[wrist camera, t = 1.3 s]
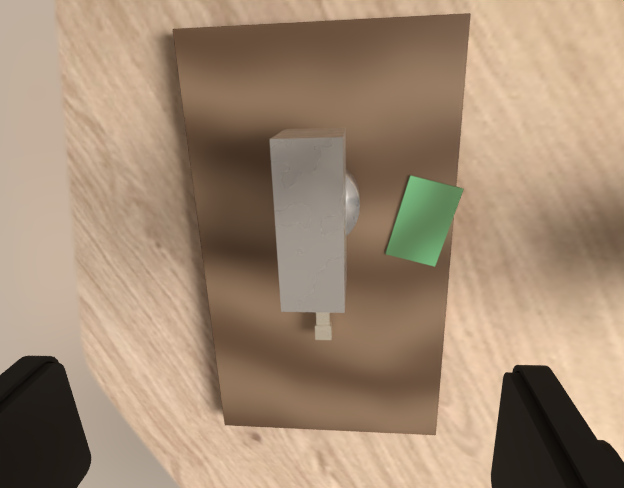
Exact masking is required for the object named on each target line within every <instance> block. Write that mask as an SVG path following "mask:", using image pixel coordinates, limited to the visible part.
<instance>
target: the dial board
mask: <svg viewBox="0 0 624 488" xmlns="http://www.w3.org/2000/svg"><path fill="white" fill-rule="evenodd" d="M469 25H470V13H468V14H449V15H430V16H411V17H392V18H373V19H354V20H335V21H316V22H297V23H278V24H259V25H240V26H221V27H202V28H183V29H173V36H174V44H175V51H176V59H177V66H178V74H179V81H180V89H181V97H182V104H183V112H184V119H185V127H186V134H187V142H188V150H189V157H190V165H191V172H192V180H193V187H194V195H195V203H196V210H197V218H198V225H199V233H200V241H201V248H202V256H203V263H204V271H205V278H206V286H207V294H208V301H209V309H210V316H211V324H212V331H213V339H214V347H215V354H216V362H217V369H218V377H219V384H220V392H221V400H222V407H223V415H224V422H225V425H233V426H254V427H275V428H296V429H317V430H338V431H359V432H380V433H401V434H422V435H436V426H437V414H438V402H439V390H440V378H441V365H442V353H443V341H444V329H445V317H446V305H447V293H448V280H449V268H450V256H451V244H452V232H453V220H454V214H455V211H456V208H457V206H458V203H459V200H460V198H461V195H462V192H463V188H459V187H456V183H457V171H458V159H459V147H460V135H461V122H462V110H463V98H464V86H465V74H466V62H467V49H468V37H469ZM318 128H346V169H347V170H348V171H349V172H350V173H351V174H352V175H353V177H354V178H355V180H356V182H357V185H358V189H359V196H360V210H359V216H358V220H357V222H356V224H355V226H354V228H353V229H352V231H351V232H350V233H349V234H348V235H347V236H346V247H347V281H346V298H345V313H330V321H332V340H315V322H316V312H281V302H280V288H279V273H278V258H277V243H276V228H275V213H274V198H273V184H272V169H271V154H270V138H272V137H274V136H275V135H277V134H278V133H280V132H282V131H283V130H285V129H318Z"/></svg>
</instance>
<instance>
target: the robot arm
mask: <svg viewBox="0 0 624 488" xmlns="http://www.w3.org/2000/svg"><path fill="white" fill-rule="evenodd" d="M90 464H91V454H90V450H89V447H88V443H87V440H86V437H85V433H84V430H83V427H82V424H81V420H80V417H79V414H78V411H77V408H76V404H75V401H74V397H73V394H72V391H71V388H70V385H69V381H68V378H67V374H66V371H65V368H64V366H63V365H62V364H60V363H59V362H58V360H57V359H56V358H55V357H52V356H25V357H22V358H21V359H19V360H18V361H17V362H16V363H14V364H13V365H12V366H11V367H10V368H8V369H7V370H6V371H5V372H3V373H2V374H1V375H0V488H77V487H78V485H79V484H80V482H81V481H82V480H83V478H84V476H85V475H86V474H87V472H88V470H89V467H90ZM491 484H492V488H624V462H623V461H622V459H621V458H620V456H619V455H618V453H617V452H616V451H615V450H614V448H613V447H612V446H611V445H610V444H609V443H607V442H606V441H604V440H597V438H596V437H595V435H594V434H593V432H592V431H591V429H590V428H589V426H588V425H587V423H586V421H585V420H584V418H583V417H582V415H581V414H580V412H579V411H578V409H577V408H576V406H575V405H574V403H573V402H572V400H571V399H570V397H569V396H568V394H567V393H566V391H565V390H564V388H563V387H562V385H561V384H560V382H559V381H558V379H557V378H556V376H555V375H554V373H553V372H552V370H551V369H550V368H549V367H548V366H541V365H516V366H515V367H514V369H513V372H512V373H509V372H506V373H505V374H504V377H503V383H502V391H501V399H500V407H499V415H498V423H497V431H496V439H495V446H494V454H493V462H492V470H491Z"/></svg>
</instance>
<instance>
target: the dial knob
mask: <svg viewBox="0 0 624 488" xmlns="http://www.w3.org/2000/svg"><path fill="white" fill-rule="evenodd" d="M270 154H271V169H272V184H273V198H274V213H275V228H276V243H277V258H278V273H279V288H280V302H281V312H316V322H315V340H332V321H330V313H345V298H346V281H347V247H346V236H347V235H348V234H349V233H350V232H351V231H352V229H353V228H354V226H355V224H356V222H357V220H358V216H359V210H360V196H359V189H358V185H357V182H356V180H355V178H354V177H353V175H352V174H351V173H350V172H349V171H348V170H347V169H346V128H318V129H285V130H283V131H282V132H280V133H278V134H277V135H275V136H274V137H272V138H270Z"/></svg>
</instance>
